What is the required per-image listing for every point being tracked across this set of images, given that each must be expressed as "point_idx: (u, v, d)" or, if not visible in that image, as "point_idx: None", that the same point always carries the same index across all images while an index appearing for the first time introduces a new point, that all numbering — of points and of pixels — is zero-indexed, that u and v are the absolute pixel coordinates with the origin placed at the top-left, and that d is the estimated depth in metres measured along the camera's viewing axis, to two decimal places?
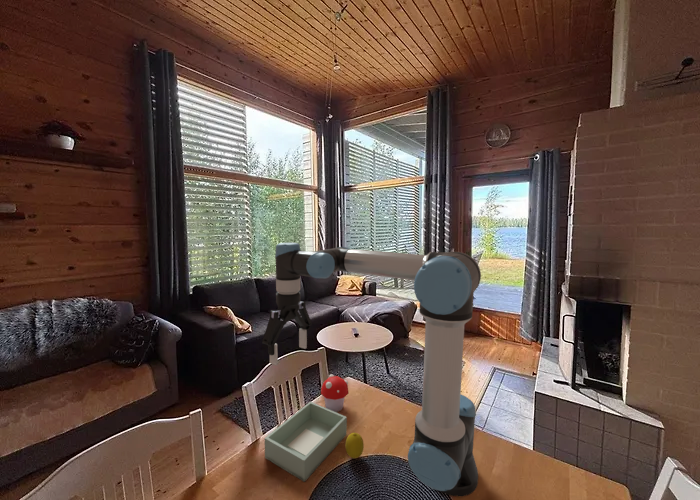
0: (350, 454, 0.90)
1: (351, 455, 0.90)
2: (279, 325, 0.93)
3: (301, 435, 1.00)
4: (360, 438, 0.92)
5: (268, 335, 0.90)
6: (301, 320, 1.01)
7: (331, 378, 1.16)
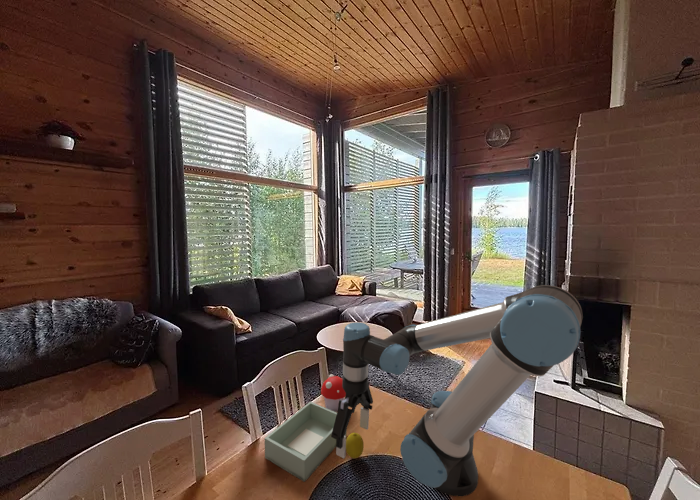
0: (350, 454, 0.90)
1: (351, 455, 0.90)
2: (347, 414, 0.87)
3: (301, 435, 1.00)
4: (360, 438, 0.92)
5: (338, 429, 0.83)
6: (365, 402, 0.95)
7: (331, 378, 1.16)
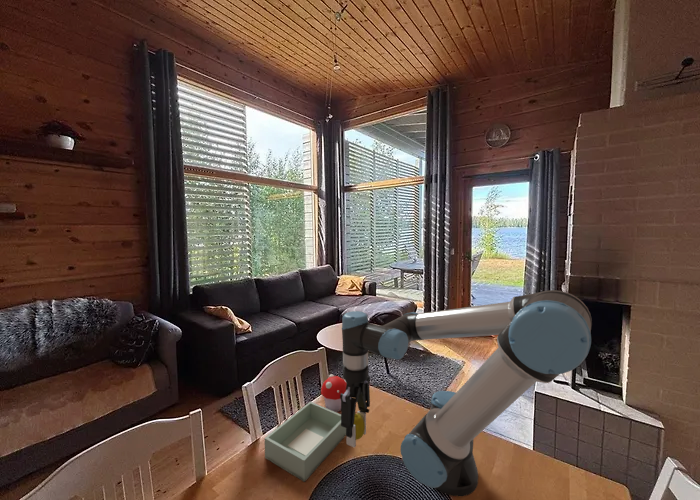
0: None
1: None
2: (352, 405, 0.88)
3: (301, 435, 1.00)
4: (361, 419, 0.91)
5: (346, 420, 0.85)
6: (364, 399, 0.92)
7: (331, 378, 1.16)
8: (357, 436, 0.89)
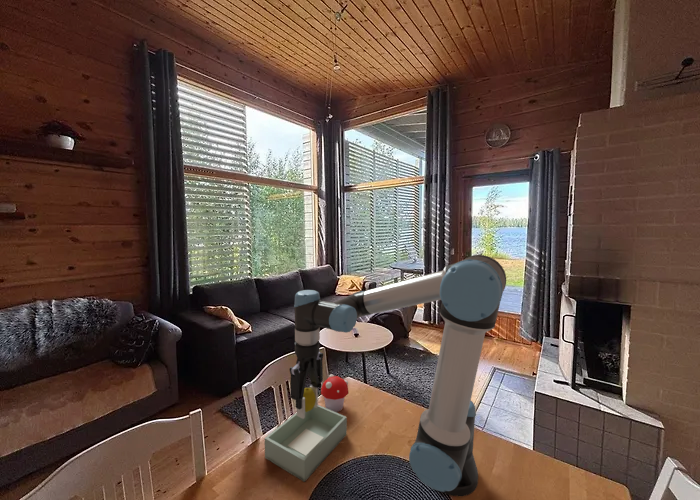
0: None
1: None
2: (302, 379, 0.92)
3: (301, 435, 1.00)
4: (312, 392, 0.95)
5: (294, 392, 0.89)
6: (315, 374, 0.96)
7: (331, 378, 1.16)
8: (307, 408, 0.93)
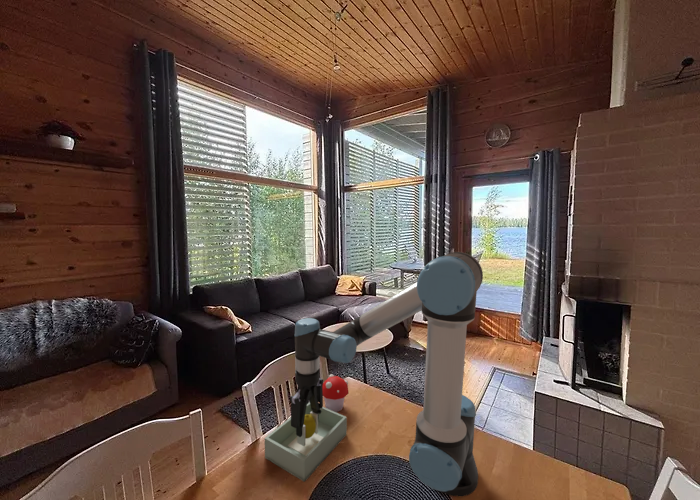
0: None
1: None
2: (302, 407, 0.93)
3: None
4: (312, 419, 0.96)
5: (295, 420, 0.90)
6: (316, 401, 0.97)
7: (331, 378, 1.16)
8: (307, 435, 0.94)
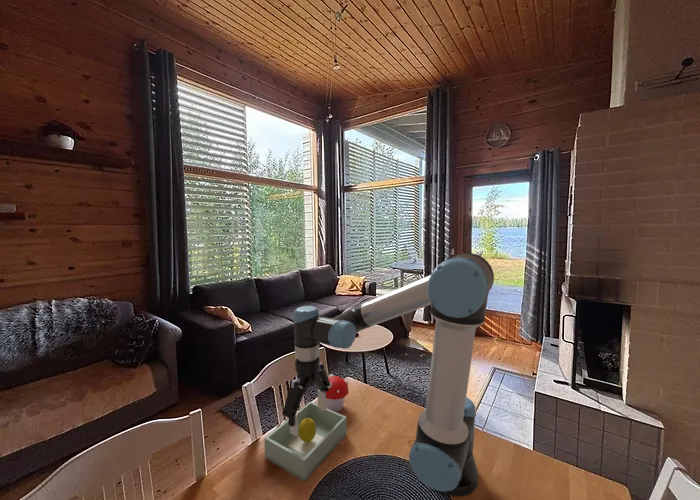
0: (302, 438, 0.95)
1: (303, 439, 0.95)
2: (299, 394, 0.91)
3: None
4: (312, 423, 0.96)
5: (289, 407, 0.87)
6: (320, 383, 0.99)
7: (331, 378, 1.16)
8: (307, 439, 0.95)
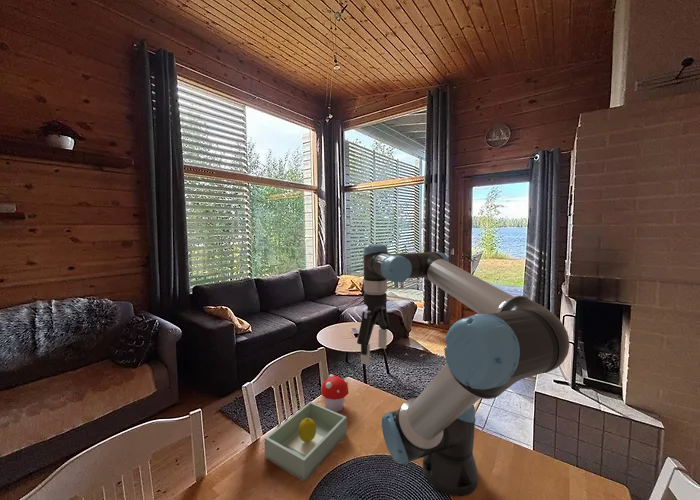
0: (302, 438, 0.95)
1: (303, 439, 0.95)
2: (370, 325, 0.95)
3: None
4: (312, 423, 0.96)
5: (363, 335, 0.91)
6: (383, 320, 1.03)
7: (331, 378, 1.16)
8: (307, 439, 0.95)
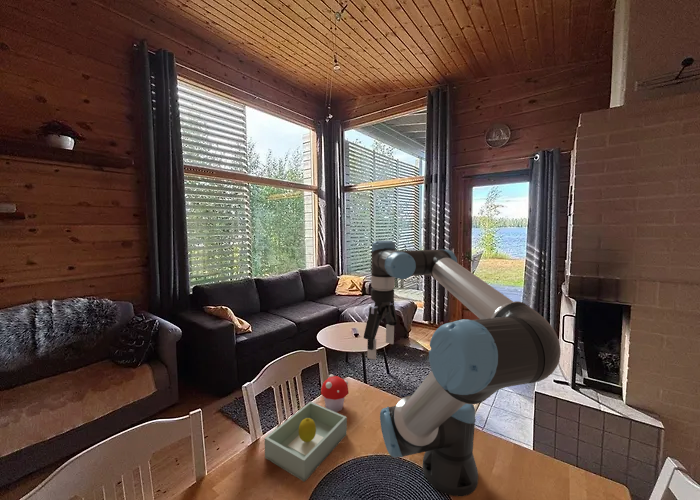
0: (302, 438, 0.95)
1: (303, 439, 0.95)
2: (377, 321, 0.96)
3: None
4: (312, 423, 0.96)
5: (370, 330, 0.93)
6: (391, 316, 1.04)
7: (331, 378, 1.16)
8: (307, 439, 0.95)
